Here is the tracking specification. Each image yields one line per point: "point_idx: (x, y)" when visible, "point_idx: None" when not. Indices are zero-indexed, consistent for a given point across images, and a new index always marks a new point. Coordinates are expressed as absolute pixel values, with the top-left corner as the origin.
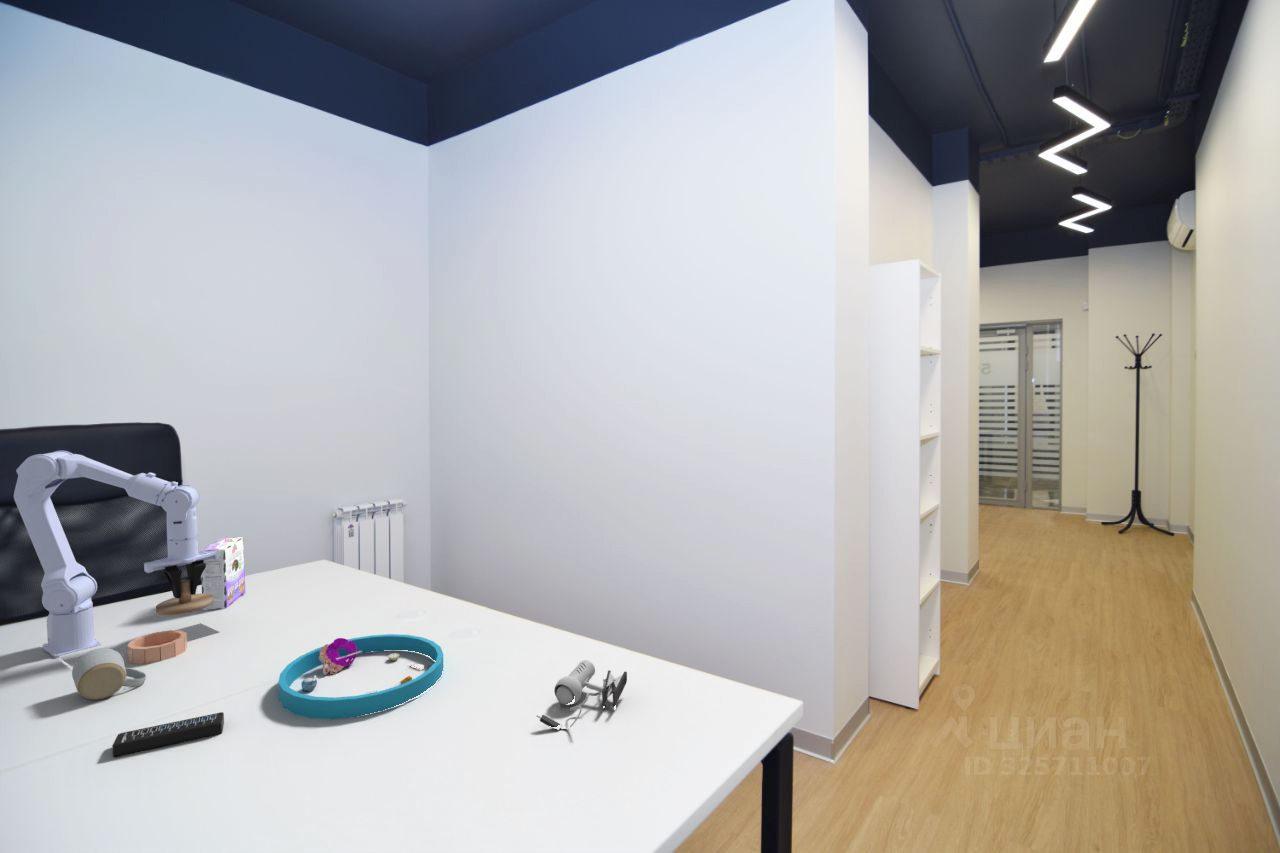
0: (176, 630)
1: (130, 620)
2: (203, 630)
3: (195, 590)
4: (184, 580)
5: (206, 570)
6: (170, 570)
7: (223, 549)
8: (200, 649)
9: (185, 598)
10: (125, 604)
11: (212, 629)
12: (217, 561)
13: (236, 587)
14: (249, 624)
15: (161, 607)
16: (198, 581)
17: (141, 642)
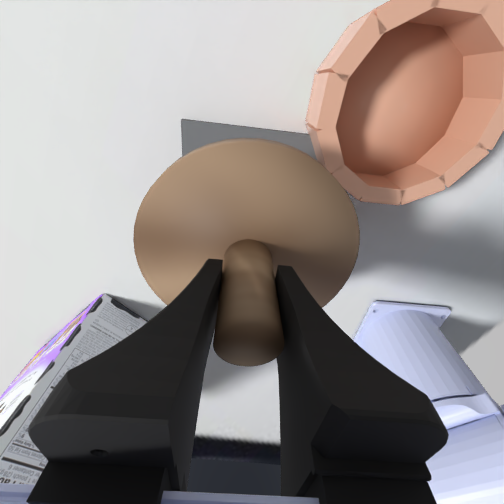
0: None
1: (258, 372)
2: None
3: (206, 265)
4: (241, 348)
5: None
6: (387, 460)
7: None
8: (301, 3)
9: (258, 253)
10: (222, 426)
11: None
12: (16, 460)
13: (42, 354)
14: (77, 114)
15: (333, 274)
16: (178, 295)
17: (409, 179)
